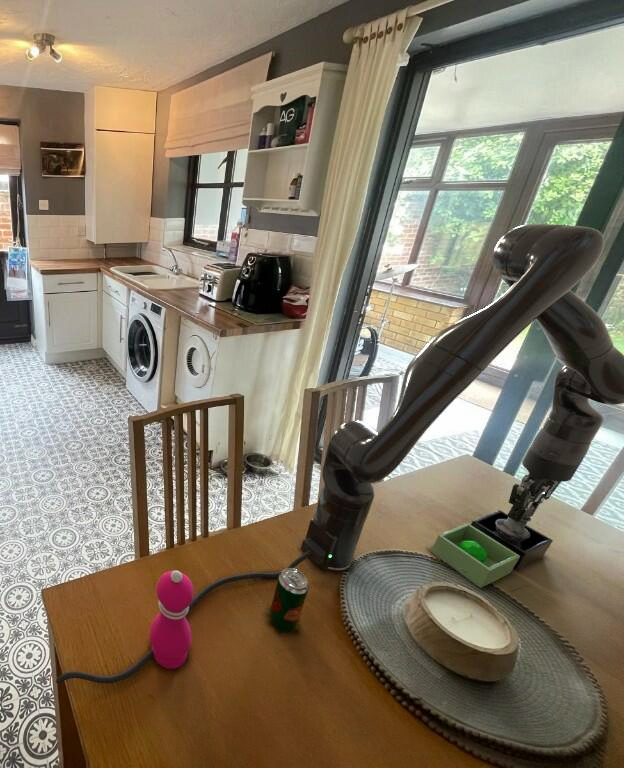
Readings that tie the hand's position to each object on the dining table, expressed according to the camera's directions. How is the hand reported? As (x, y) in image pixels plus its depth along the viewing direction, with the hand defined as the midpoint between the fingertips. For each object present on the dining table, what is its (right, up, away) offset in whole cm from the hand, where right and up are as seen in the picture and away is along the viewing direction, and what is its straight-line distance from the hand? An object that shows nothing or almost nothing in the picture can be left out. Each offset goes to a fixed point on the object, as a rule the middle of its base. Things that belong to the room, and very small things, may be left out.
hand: (519, 516), depth 91 cm
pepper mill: (-81, -19, -18) cm, 85 cm away
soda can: (-58, -16, -13) cm, 62 cm away
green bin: (-11, -10, 0) cm, 15 cm away
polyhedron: (-12, -10, 0) cm, 15 cm away
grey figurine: (0, -7, +3) cm, 7 cm away
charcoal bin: (0, -8, +4) cm, 9 cm away
